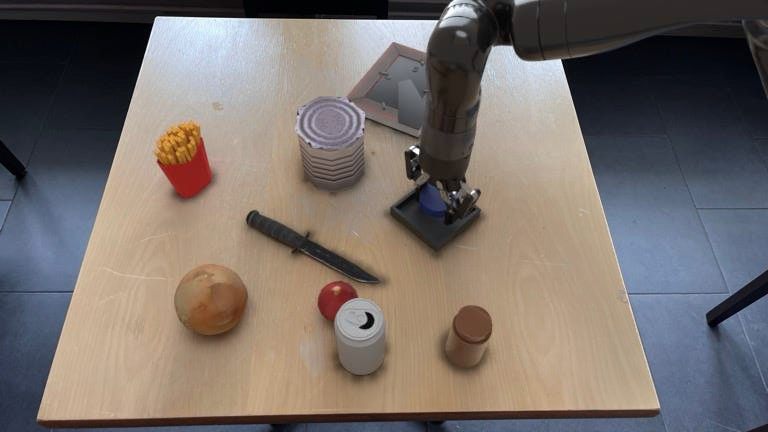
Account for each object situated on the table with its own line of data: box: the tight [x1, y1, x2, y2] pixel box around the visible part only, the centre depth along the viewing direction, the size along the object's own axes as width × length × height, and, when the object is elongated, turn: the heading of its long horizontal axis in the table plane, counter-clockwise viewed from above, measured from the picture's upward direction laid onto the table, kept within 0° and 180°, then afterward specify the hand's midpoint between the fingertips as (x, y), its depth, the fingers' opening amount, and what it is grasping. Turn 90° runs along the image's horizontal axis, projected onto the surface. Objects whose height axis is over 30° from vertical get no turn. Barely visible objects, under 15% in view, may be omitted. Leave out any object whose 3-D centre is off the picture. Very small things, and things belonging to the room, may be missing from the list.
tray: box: [389, 188, 482, 254], centre depth 87 cm, size 11×11×2 cm
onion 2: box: [317, 280, 359, 323], centre depth 74 cm, size 6×6×8 cm
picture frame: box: [346, 41, 428, 138], centre depth 105 cm, size 16×2×22 cm
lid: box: [418, 184, 455, 218], centre depth 85 cm, size 6×6×2 cm
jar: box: [444, 304, 494, 369], centre depth 70 cm, size 5×5×10 cm
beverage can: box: [333, 297, 387, 376], centre depth 69 cm, size 6×6×12 cm
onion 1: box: [173, 263, 249, 336], centre depth 73 cm, size 10×10×10 cm
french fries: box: [152, 119, 213, 199], centre depth 86 cm, size 8×4×12 cm, turn 145°
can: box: [294, 95, 366, 194], centre depth 89 cm, size 11×11×12 cm
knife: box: [245, 209, 382, 283], centre depth 82 cm, size 24×5×3 cm, turn 55°
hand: (435, 210), depth 87 cm, fingers closed on lid, 5 cm apart
